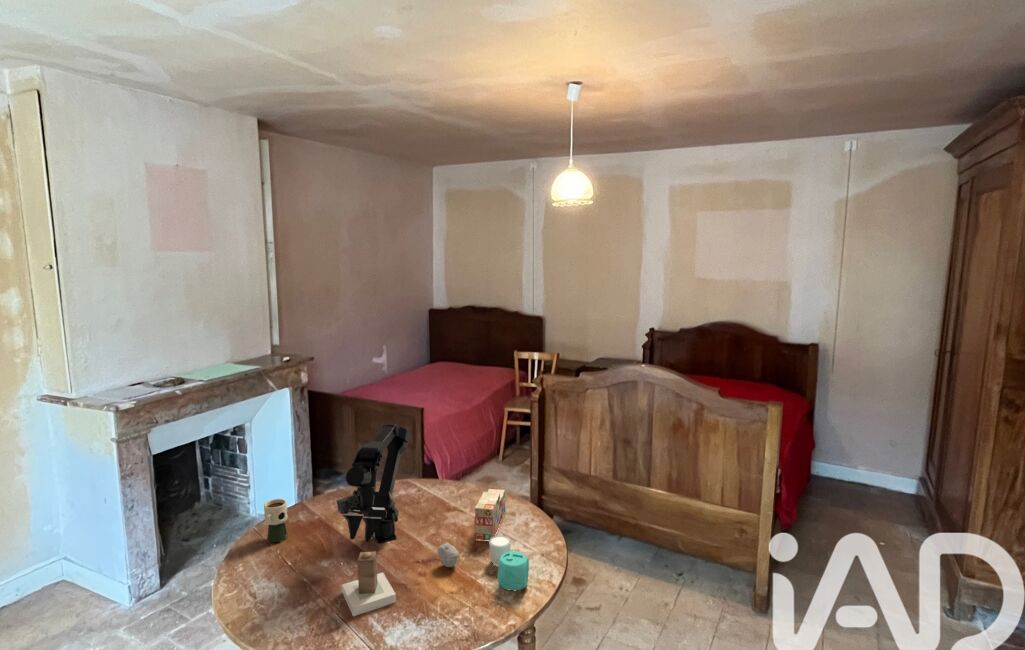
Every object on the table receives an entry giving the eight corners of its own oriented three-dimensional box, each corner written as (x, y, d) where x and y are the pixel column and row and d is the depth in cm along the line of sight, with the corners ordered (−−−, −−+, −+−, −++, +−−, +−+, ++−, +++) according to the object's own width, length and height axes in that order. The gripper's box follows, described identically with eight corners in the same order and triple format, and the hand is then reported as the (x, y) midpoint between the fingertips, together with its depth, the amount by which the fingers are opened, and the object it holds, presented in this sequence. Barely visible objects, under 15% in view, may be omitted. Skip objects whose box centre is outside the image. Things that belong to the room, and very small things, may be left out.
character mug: (279, 548, 184) (277, 511, 182) (259, 547, 184) (256, 510, 182) (295, 531, 195) (293, 496, 193) (275, 530, 195) (273, 495, 193)
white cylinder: (514, 558, 178) (514, 538, 177) (505, 569, 171) (505, 548, 170) (495, 553, 180) (495, 533, 179) (485, 564, 174) (485, 543, 173)
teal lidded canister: (524, 593, 160) (524, 567, 159) (497, 590, 162) (497, 564, 160) (528, 576, 168) (528, 552, 167) (502, 574, 169) (502, 549, 168)
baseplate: (383, 580, 166) (382, 572, 166) (396, 602, 156) (395, 593, 156) (342, 592, 160) (341, 584, 160) (353, 616, 150) (352, 607, 150)
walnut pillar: (361, 584, 160) (360, 550, 158) (377, 583, 160) (375, 549, 159) (358, 594, 155) (357, 559, 154) (374, 593, 156) (373, 558, 154)
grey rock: (444, 558, 178) (444, 537, 177) (463, 563, 175) (463, 542, 174) (433, 568, 172) (433, 547, 171) (453, 573, 169) (452, 552, 168)
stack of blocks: (489, 511, 209) (489, 480, 207) (505, 513, 208) (505, 482, 206) (475, 541, 188) (474, 507, 186) (493, 543, 187) (493, 508, 185)
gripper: (328, 485, 176) (320, 537, 171) (357, 486, 162) (349, 544, 158) (360, 487, 183) (353, 537, 178) (390, 489, 169) (384, 543, 165)
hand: (359, 540), depth 169 cm, fingers open, 9 cm apart
